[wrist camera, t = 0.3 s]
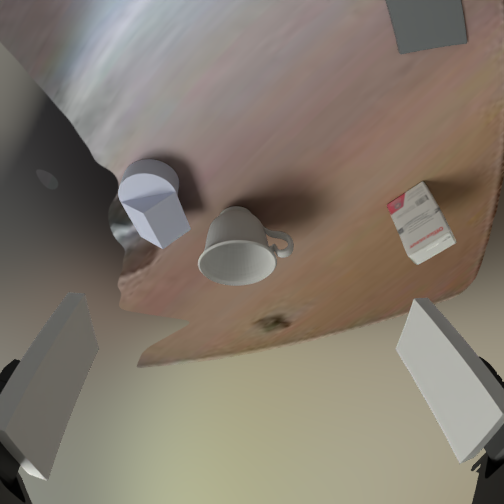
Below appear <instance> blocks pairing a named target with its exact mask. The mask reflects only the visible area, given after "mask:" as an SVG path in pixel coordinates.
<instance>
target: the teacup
mask: <svg viewBox="0 0 504 504" xmlns="http://www.w3.org/2000/svg"><path fill="white" fill-rule="evenodd" d="M265 233H266V234H267V235H268V236H270V237H273V238H280V239H283V240H285V241H286V242H287V243H288V246H287V248H285V249H283V250H279V249H278V248H277V246H276V245H275V244H273V245H272V246H269V245H268V241H267V238H266V234H265ZM293 247H294V244H293V240H292V238H291V237H290V236H289V235H288V234H287V233H285V232H281V231H272V230H269V229H267V228H265V227H264V226H263V225H262V223H261V222H260V220H259V219H258V218H257V217H256V216H254V215H253V214H251V212H250V211H249V210H248V209H246V208H244V207H239V206H234V207H229V208H226V209H225V210H223V211H222V212H221V214H220V215H219V216H218V217H217V218H215V219H214V221H213V222H212V224H211V225H210V228H209V231H208V235H207V240H206V245H205V250H204V252H203V253H202V254H201V256H200V257H199V260H198V267H199V269H200V271H201V272H202V273H203V275H205V276H206V277H207V278H208V279H210V280H212V281H214V282H217V283H220V284H225V285H248V284H252V283H255V282H258V281H260V280H262V279H264V278H266V277H267V276H269V275H270V274H271V273H272V272H273V271H274V269H275V267H276V265H277V259H276V256H275V254H274V251H275V252H276V254H277V256H278V257H282V258H283V257H287V256H289V255H290V254H291V253H292V251H293Z"/></svg>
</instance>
